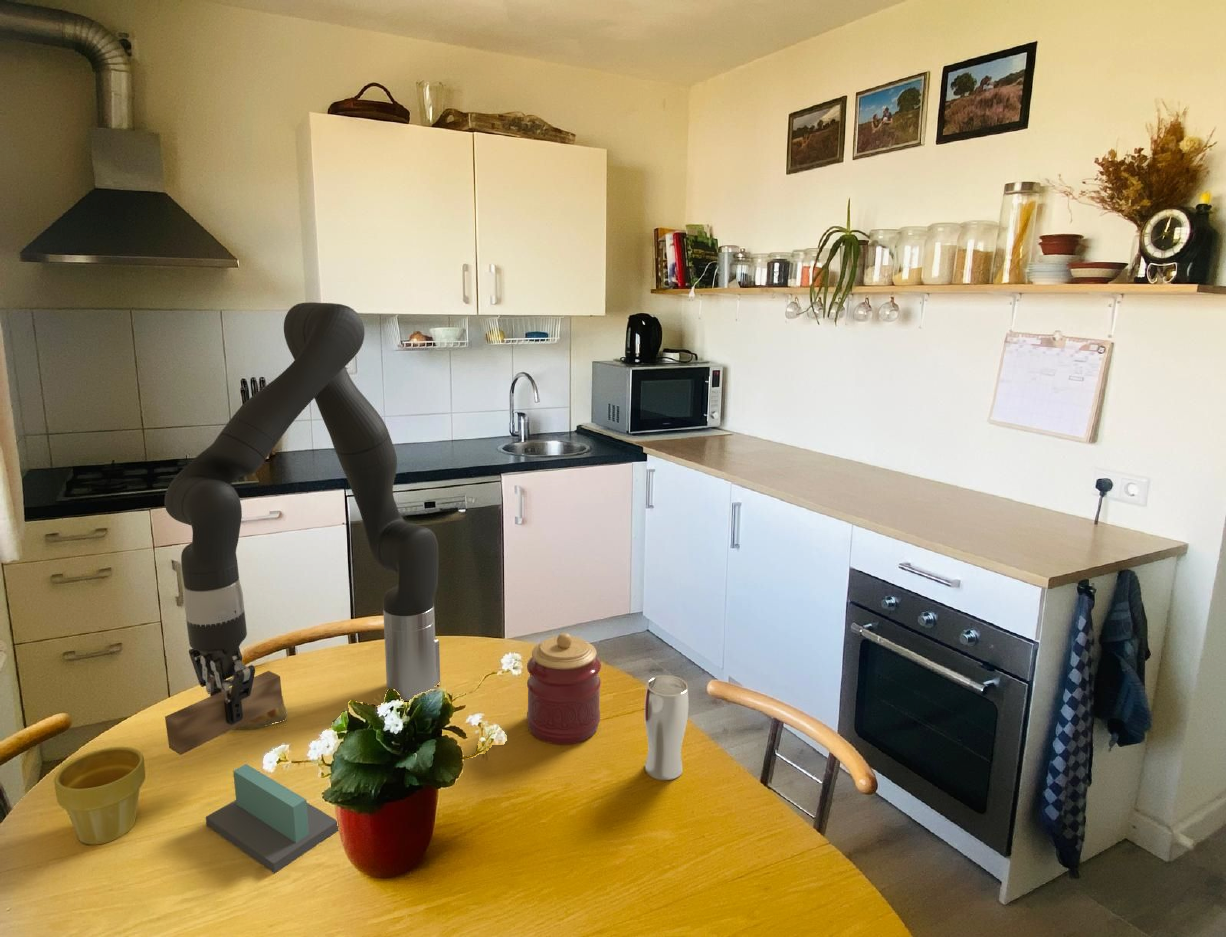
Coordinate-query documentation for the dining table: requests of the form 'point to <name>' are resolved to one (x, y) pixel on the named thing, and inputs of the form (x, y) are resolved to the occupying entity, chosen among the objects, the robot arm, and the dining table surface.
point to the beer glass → (665, 725)
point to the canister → (563, 690)
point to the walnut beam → (220, 714)
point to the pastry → (267, 718)
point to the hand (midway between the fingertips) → (227, 717)
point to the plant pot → (101, 792)
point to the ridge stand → (270, 820)
